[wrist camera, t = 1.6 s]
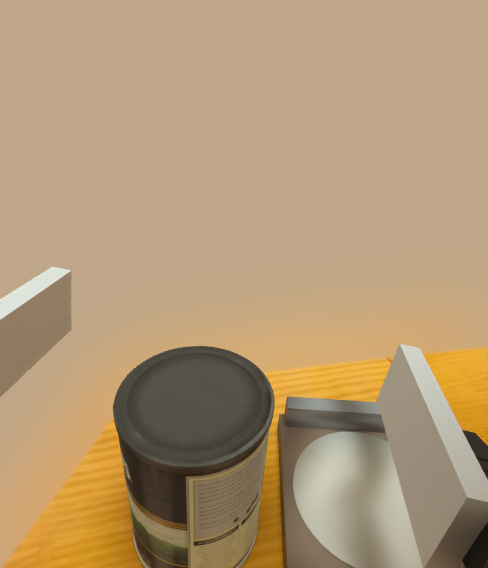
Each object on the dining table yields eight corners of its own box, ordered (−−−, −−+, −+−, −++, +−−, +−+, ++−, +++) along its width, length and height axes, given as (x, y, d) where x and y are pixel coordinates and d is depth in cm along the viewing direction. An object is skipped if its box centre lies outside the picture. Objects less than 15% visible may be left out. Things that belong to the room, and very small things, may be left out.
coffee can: (116, 591, 28) (88, 461, 21) (148, 462, 37) (135, 342, 30) (261, 595, 28) (280, 468, 21) (257, 466, 37) (270, 347, 30)
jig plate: (412, 436, 41) (423, 405, 39) (489, 628, 27) (514, 596, 25) (277, 427, 41) (281, 396, 39) (286, 614, 27) (293, 581, 25)
